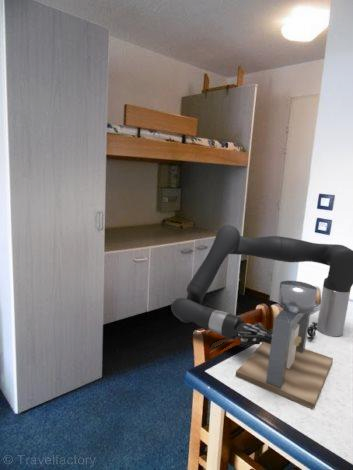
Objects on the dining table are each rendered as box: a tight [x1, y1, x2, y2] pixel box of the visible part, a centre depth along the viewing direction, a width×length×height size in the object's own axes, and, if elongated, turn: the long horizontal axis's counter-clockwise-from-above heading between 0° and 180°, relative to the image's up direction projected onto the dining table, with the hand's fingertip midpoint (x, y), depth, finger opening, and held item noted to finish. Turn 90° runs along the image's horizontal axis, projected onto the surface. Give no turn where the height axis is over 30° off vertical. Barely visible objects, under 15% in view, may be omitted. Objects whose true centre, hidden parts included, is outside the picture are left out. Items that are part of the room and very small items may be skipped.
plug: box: [286, 324, 301, 369], centre depth 97 cm, size 5×6×12 cm
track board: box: [235, 342, 334, 410], centre depth 98 cm, size 27×21×2 cm
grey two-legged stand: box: [266, 280, 318, 389], centre depth 95 cm, size 26×10×24 cm, turn 146°
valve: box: [307, 321, 318, 341], centre depth 121 cm, size 7×7×12 cm
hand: (277, 341), depth 99 cm, fingers closed
